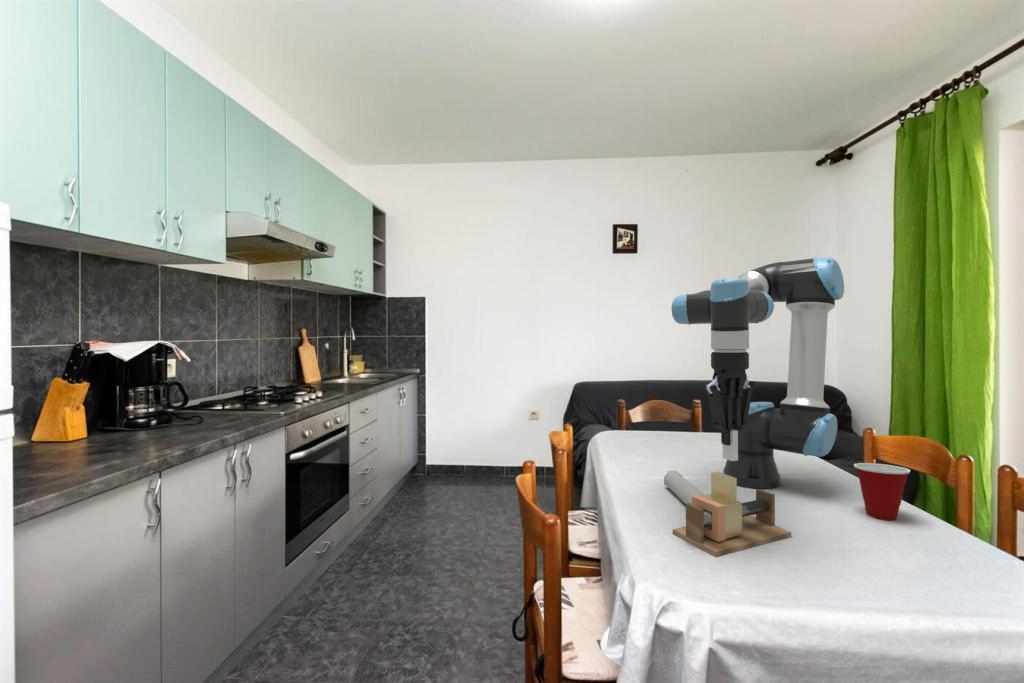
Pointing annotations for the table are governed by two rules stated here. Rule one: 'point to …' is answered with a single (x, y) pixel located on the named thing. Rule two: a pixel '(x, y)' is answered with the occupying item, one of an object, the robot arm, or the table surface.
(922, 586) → the table surface
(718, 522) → the square pink collar
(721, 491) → the sleeve
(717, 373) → the robot arm
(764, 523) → the base board
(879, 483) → the plastic cup
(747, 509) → the pipe
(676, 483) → the tube
